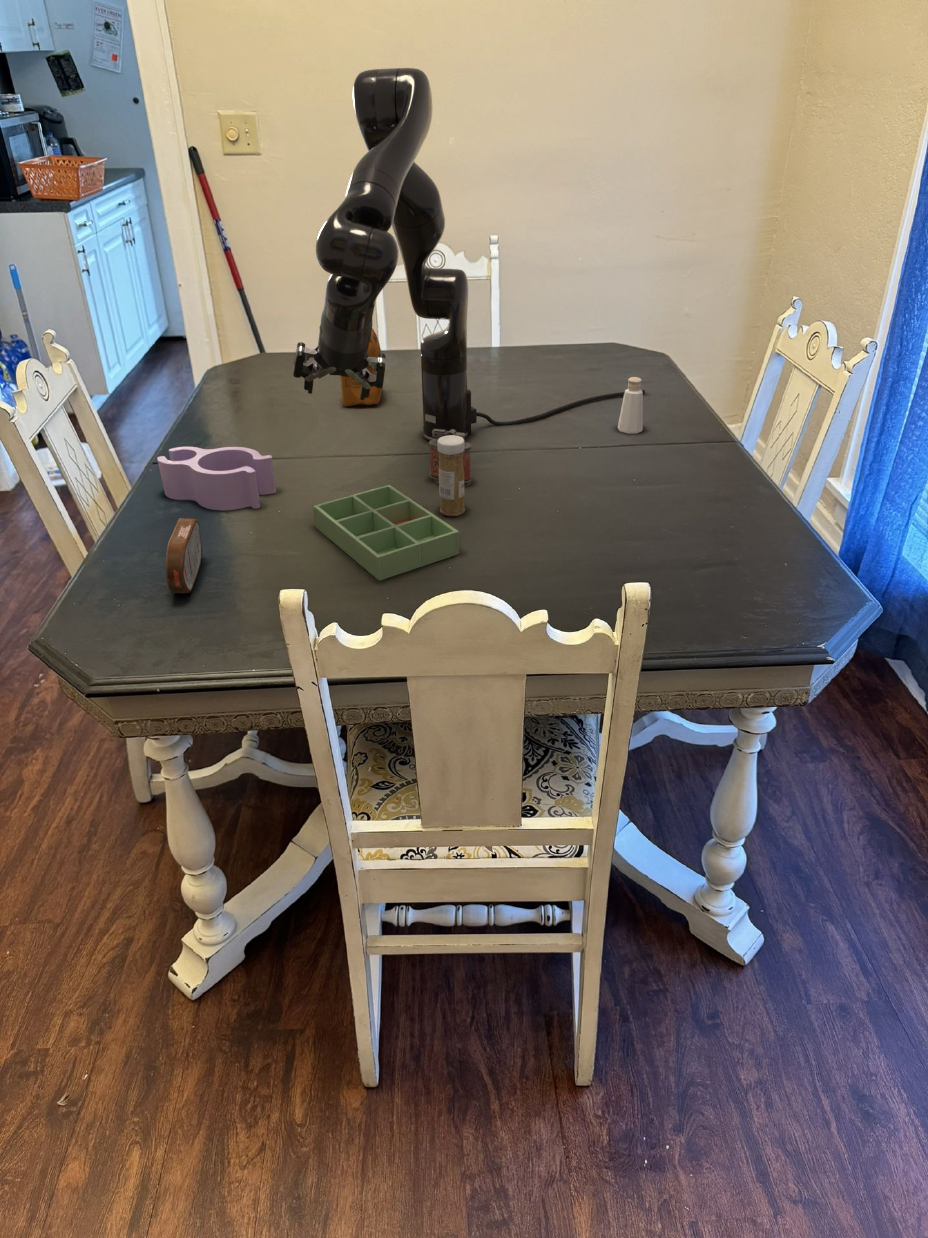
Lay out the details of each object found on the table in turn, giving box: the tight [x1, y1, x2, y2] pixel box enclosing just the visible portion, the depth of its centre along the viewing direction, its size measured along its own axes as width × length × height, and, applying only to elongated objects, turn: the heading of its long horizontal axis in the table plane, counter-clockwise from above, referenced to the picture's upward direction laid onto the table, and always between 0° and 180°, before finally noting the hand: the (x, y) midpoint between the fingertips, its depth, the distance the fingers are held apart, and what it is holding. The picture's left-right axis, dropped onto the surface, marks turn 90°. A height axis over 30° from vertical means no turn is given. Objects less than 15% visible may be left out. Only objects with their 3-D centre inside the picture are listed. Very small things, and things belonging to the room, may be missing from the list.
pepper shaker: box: [617, 376, 644, 435], centre depth 182 cm, size 5×5×11 cm
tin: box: [165, 517, 203, 595], centre depth 132 cm, size 15×3×8 cm, turn 5°
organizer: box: [312, 484, 460, 581], centre depth 143 cm, size 15×22×4 cm
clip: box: [156, 446, 277, 511], centre depth 158 cm, size 20×12×7 cm, turn 75°
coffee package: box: [340, 327, 384, 407], centre depth 197 cm, size 10×12×22 cm
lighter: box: [428, 429, 472, 487], centre depth 161 cm, size 8×3×10 cm, turn 71°
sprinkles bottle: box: [437, 435, 466, 518], centre depth 149 cm, size 5×5×13 cm
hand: (336, 392), depth 144 cm, fingers open, 8 cm apart
